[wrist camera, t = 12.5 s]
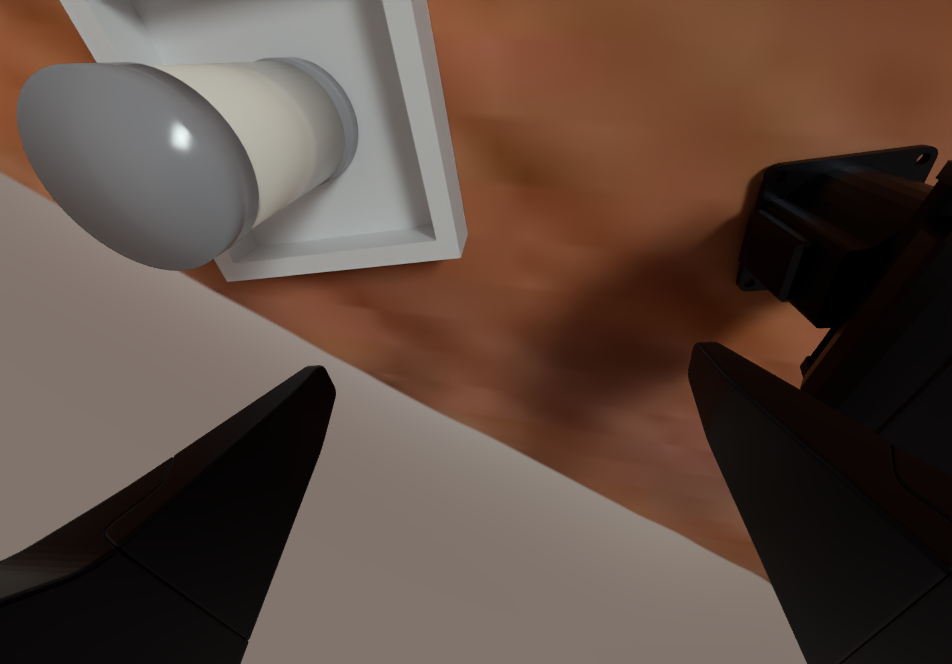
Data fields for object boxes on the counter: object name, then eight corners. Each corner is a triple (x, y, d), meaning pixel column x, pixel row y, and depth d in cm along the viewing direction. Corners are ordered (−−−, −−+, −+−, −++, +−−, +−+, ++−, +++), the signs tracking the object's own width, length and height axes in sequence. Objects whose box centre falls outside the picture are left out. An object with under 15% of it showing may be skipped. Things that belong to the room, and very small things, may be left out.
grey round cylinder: (297, 27, 16) (64, 4, 8) (380, 139, 18) (265, 210, 10) (229, 106, 18) (-12, 153, 10) (311, 198, 20) (169, 298, 12)
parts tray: (406, -113, 14) (382, -148, 11) (467, 234, 21) (460, 257, 19) (107, -30, 16) (33, -45, 13) (257, 258, 23) (227, 281, 21)
